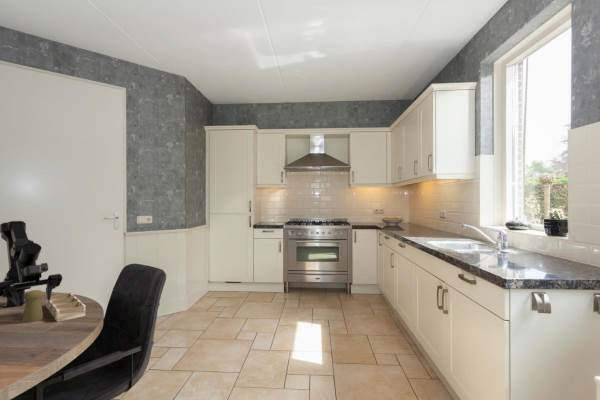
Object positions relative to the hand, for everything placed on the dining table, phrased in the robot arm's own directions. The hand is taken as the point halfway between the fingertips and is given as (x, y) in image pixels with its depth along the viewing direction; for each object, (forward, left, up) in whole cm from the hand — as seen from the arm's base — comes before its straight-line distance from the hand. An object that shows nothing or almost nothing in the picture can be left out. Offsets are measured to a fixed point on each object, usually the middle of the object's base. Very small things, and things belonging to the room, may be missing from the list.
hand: (34, 302), depth 111 cm
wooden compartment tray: (-8, +8, -7) cm, 13 cm away
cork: (-1, -1, -7) cm, 7 cm away
